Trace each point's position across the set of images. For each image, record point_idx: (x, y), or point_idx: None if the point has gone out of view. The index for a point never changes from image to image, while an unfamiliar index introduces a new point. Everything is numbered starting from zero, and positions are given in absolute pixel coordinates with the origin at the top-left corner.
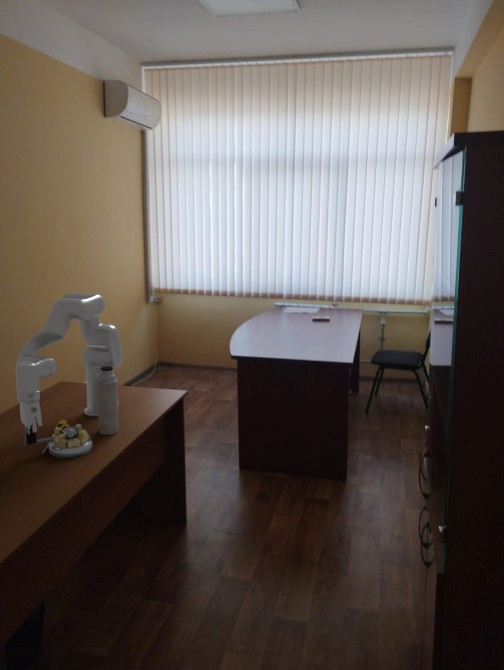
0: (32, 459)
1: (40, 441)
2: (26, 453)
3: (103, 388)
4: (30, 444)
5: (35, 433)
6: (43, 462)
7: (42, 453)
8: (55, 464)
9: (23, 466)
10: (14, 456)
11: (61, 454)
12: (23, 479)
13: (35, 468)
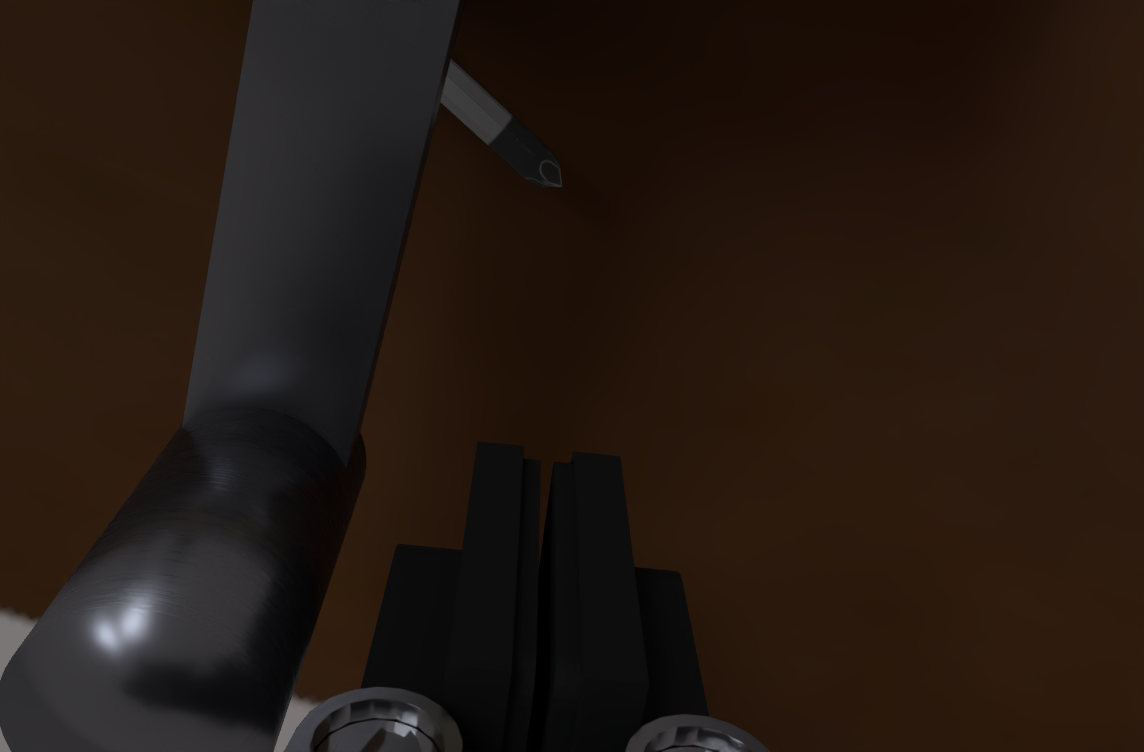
0: (524, 345)
1: (407, 210)
2: (158, 318)
3: None
4: (357, 462)
5: (641, 688)
6: (816, 243)
7: (527, 140)
8: (1101, 97)
9: (692, 569)
10: None
11: None
12: (1117, 725)
13: (929, 458)
